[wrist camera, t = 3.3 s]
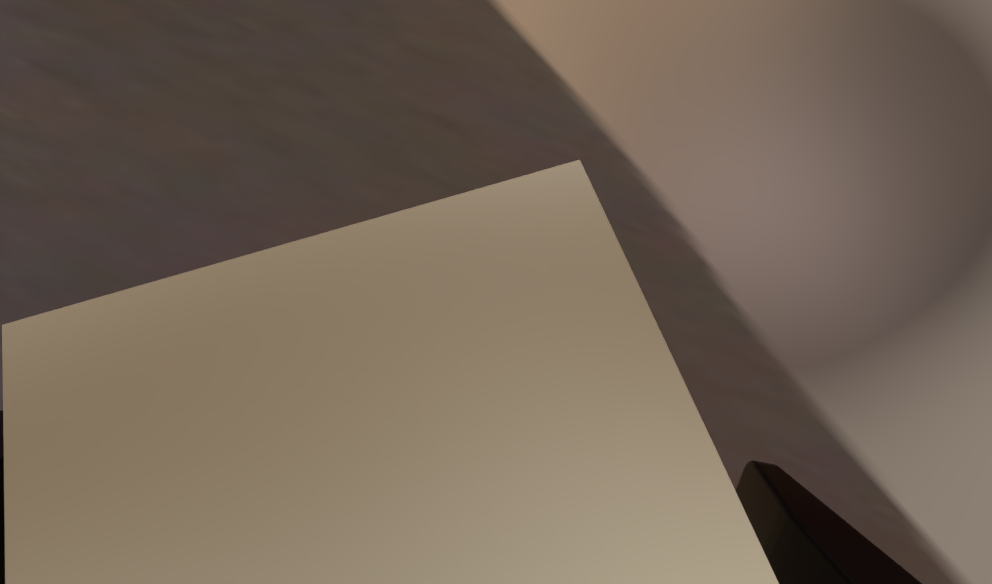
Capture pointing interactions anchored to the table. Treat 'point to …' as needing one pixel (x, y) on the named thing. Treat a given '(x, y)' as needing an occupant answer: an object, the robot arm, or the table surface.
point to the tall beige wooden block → (373, 415)
